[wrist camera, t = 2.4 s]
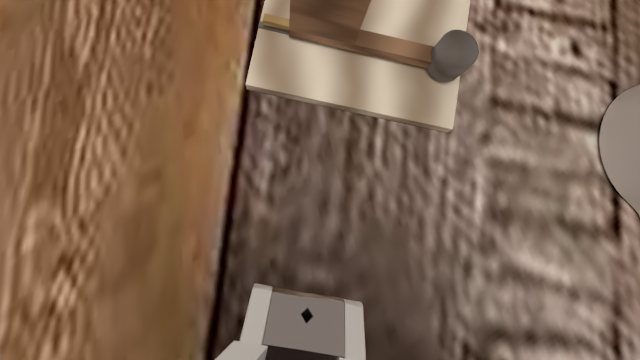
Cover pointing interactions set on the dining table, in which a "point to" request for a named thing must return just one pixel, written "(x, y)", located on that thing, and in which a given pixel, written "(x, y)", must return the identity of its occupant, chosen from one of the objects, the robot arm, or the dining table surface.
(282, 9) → the dial board
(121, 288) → the dining table surface
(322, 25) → the tuning lever
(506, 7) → the dining table surface
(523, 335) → the dining table surface
